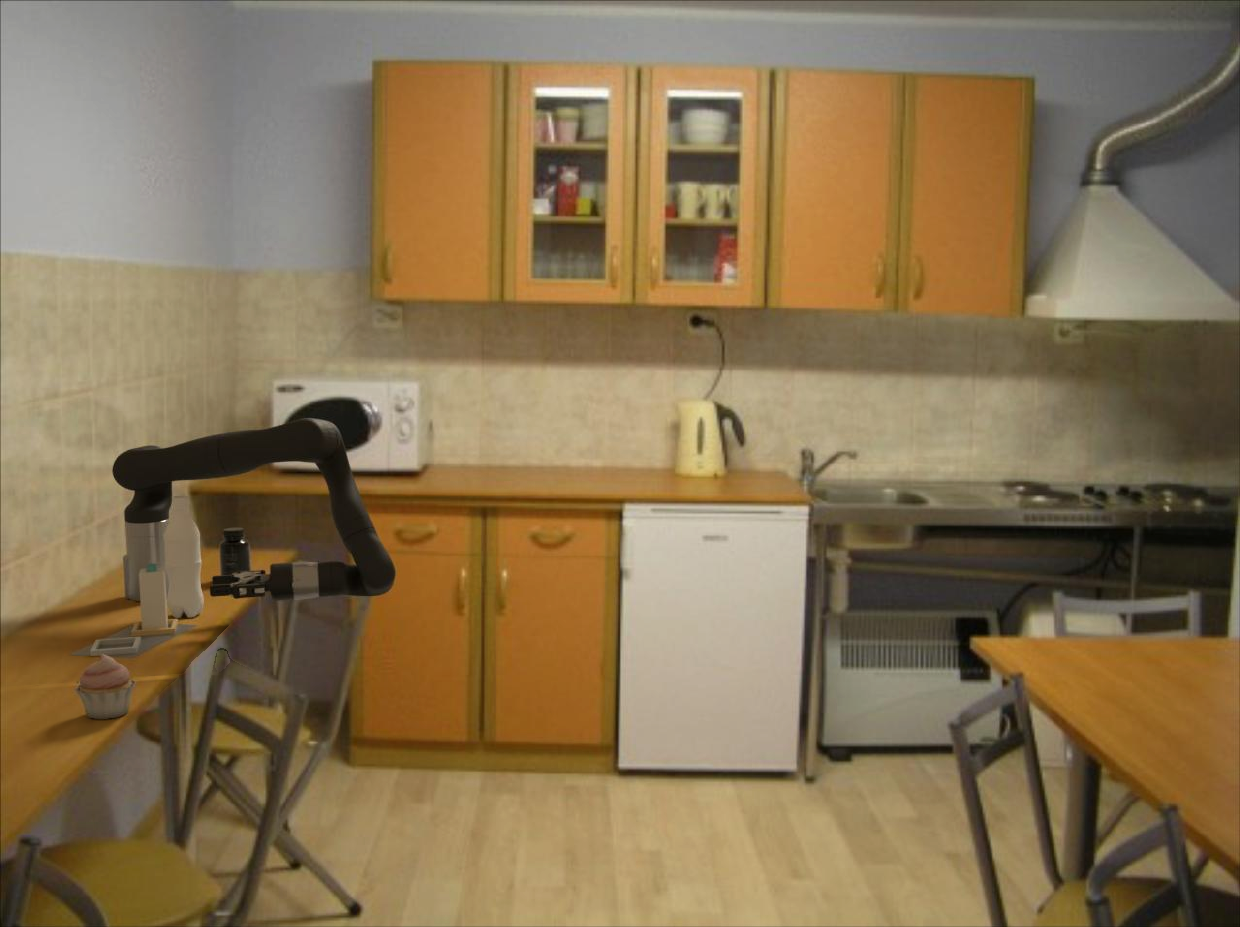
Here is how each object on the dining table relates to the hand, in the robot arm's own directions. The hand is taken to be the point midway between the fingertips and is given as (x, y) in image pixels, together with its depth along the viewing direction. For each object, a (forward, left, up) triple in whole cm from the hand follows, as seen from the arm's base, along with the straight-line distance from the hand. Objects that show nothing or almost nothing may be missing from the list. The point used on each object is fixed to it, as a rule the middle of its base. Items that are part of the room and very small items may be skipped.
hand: (211, 586), depth 275 cm
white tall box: (-10, -5, -8) cm, 14 cm away
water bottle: (-11, +9, -9) cm, 17 cm away
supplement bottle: (-16, +42, -9) cm, 46 cm away
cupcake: (+9, -53, -9) cm, 54 cm away
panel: (-10, -12, -9) cm, 18 cm away
